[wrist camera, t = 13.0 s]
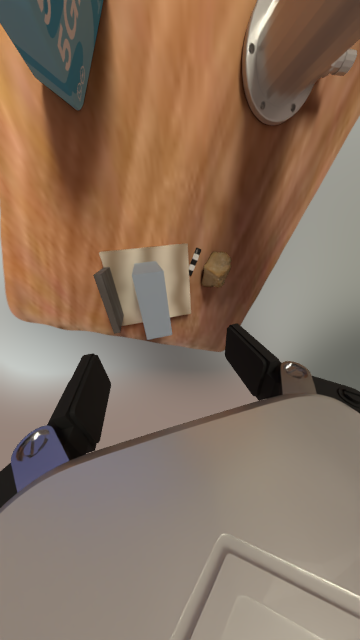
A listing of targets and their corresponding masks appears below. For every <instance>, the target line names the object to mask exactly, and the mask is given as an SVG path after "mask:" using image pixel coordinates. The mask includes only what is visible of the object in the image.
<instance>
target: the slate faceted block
mask: <svg viewBox="0 0 360 640" xmlns="http://www.w3.org/2000/svg"><path fill="white" fill-rule="evenodd" d="M132 278H133V282H134V287H135V291H136V295H137V299H138V303H139V307H140V312H141V316H142V320H143V324H144V328H145V332H146V336H147V340H149V339H154V338H159V337H164V336H168V335H172V329H171V322H170V315H169V307H168V300H167V293H166V285H165V278H164V271H163V270H162V268H161V267H160V266H159V265H158V263H157V262H156V261H152V262H143V263H135V264H134V268H133V272H132Z"/></svg>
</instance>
